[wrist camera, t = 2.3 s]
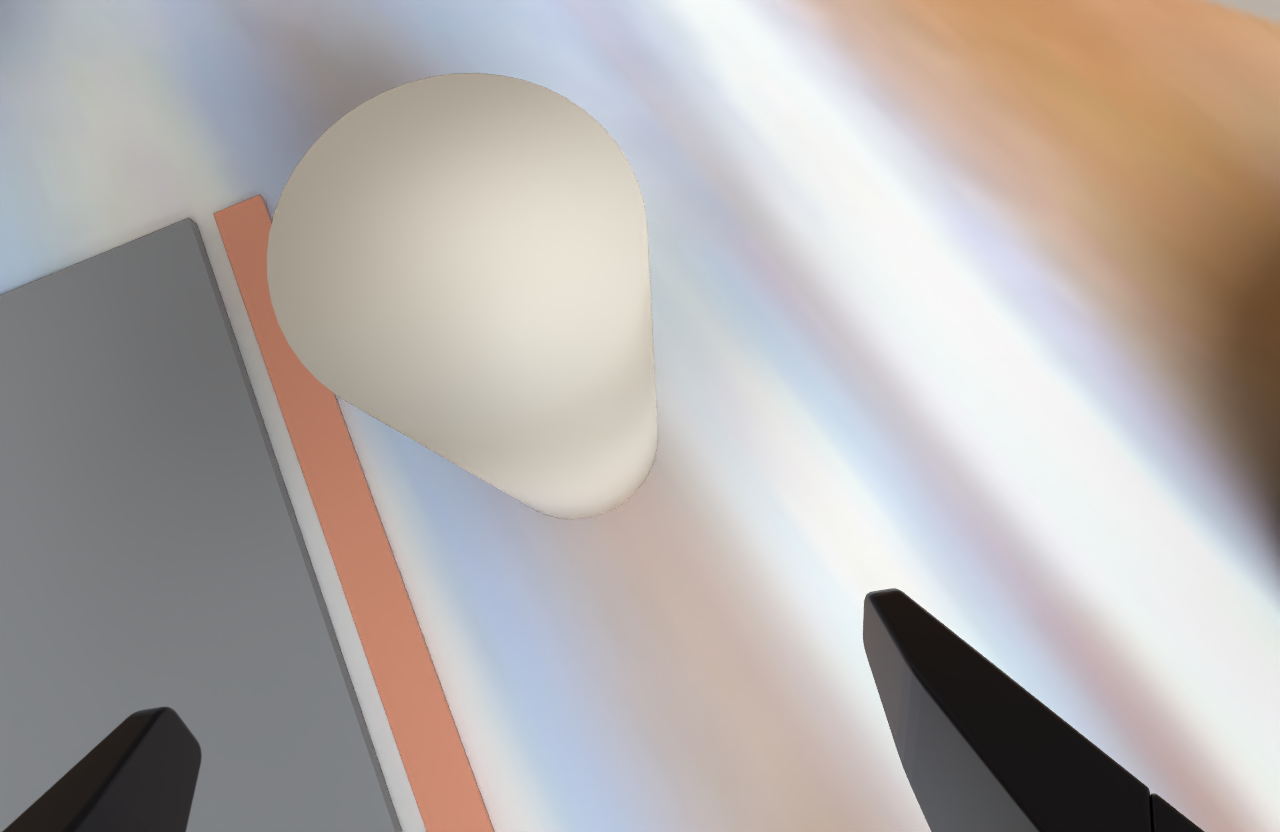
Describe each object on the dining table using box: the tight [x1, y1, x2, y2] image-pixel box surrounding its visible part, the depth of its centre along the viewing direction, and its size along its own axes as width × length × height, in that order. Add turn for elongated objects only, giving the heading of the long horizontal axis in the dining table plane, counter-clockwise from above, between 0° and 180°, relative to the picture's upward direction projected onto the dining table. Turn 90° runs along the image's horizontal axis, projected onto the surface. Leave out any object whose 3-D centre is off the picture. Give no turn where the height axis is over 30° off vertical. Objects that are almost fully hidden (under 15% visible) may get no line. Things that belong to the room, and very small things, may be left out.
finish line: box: [214, 195, 494, 832], centre depth 22 cm, size 22×2×1 cm, turn 24°
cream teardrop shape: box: [267, 73, 658, 519], centre depth 16 cm, size 5×5×13 cm
